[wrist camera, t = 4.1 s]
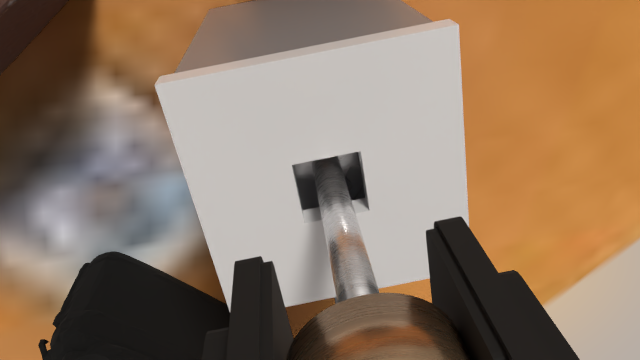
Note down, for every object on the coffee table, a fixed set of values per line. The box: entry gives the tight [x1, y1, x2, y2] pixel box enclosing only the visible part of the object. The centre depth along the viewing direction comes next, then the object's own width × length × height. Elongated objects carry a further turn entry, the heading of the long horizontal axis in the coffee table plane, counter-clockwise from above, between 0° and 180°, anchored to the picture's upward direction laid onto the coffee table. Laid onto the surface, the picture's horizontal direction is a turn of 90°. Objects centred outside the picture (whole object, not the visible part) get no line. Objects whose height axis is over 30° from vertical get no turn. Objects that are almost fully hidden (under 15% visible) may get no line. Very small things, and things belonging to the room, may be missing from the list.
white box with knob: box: [155, 0, 469, 311], centre depth 22 cm, size 11×8×13 cm
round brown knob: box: [286, 152, 471, 360], centre depth 13 cm, size 4×4×11 cm
